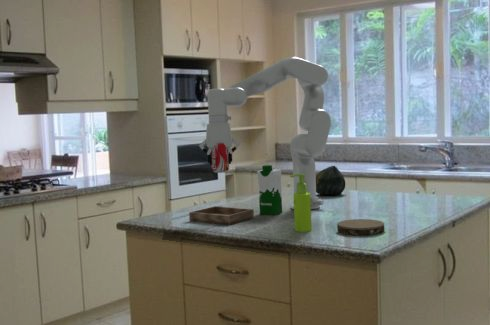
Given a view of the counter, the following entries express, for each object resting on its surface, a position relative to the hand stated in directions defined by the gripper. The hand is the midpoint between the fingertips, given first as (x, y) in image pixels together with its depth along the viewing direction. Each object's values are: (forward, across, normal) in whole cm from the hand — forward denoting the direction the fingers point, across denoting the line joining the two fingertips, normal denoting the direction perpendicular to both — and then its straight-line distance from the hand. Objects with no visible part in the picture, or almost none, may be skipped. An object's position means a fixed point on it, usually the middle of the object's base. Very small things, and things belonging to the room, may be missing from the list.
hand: (220, 163), depth 249 cm
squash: (+22, -56, -45) cm, 75 cm away
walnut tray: (+22, 0, +4) cm, 22 cm away
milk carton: (+22, -20, -4) cm, 30 cm away
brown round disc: (+22, -45, +42) cm, 65 cm away
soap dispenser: (+22, -26, +34) cm, 48 cm away
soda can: (+4, 0, 0) cm, 4 cm away
